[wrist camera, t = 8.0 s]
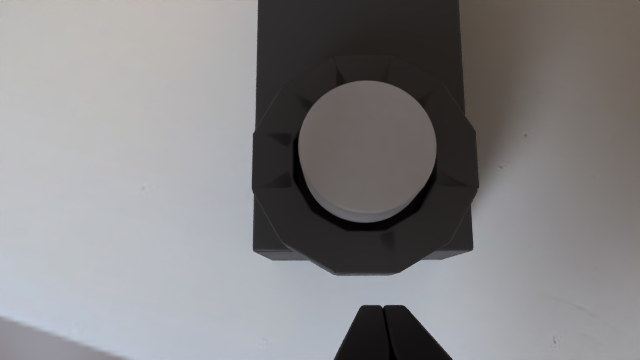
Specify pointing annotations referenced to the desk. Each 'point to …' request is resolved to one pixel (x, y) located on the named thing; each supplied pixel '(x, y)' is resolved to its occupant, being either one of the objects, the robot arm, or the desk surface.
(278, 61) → the push button base
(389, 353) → the robot arm
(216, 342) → the desk surface
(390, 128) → the gray round disc
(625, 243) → the desk surface
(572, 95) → the desk surface
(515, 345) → the desk surface
